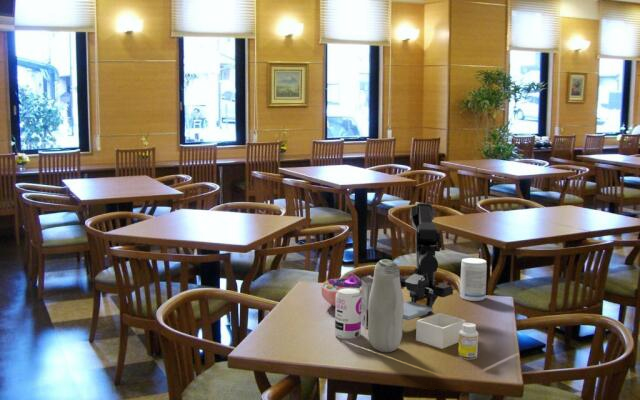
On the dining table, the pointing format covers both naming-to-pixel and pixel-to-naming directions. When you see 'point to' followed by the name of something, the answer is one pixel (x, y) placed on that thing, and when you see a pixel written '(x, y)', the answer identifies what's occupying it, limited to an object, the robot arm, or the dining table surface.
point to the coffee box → (365, 299)
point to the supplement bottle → (468, 341)
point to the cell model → (339, 287)
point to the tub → (439, 330)
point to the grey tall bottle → (385, 307)
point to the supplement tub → (473, 279)
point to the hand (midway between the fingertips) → (424, 310)
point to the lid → (415, 309)
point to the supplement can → (348, 313)
